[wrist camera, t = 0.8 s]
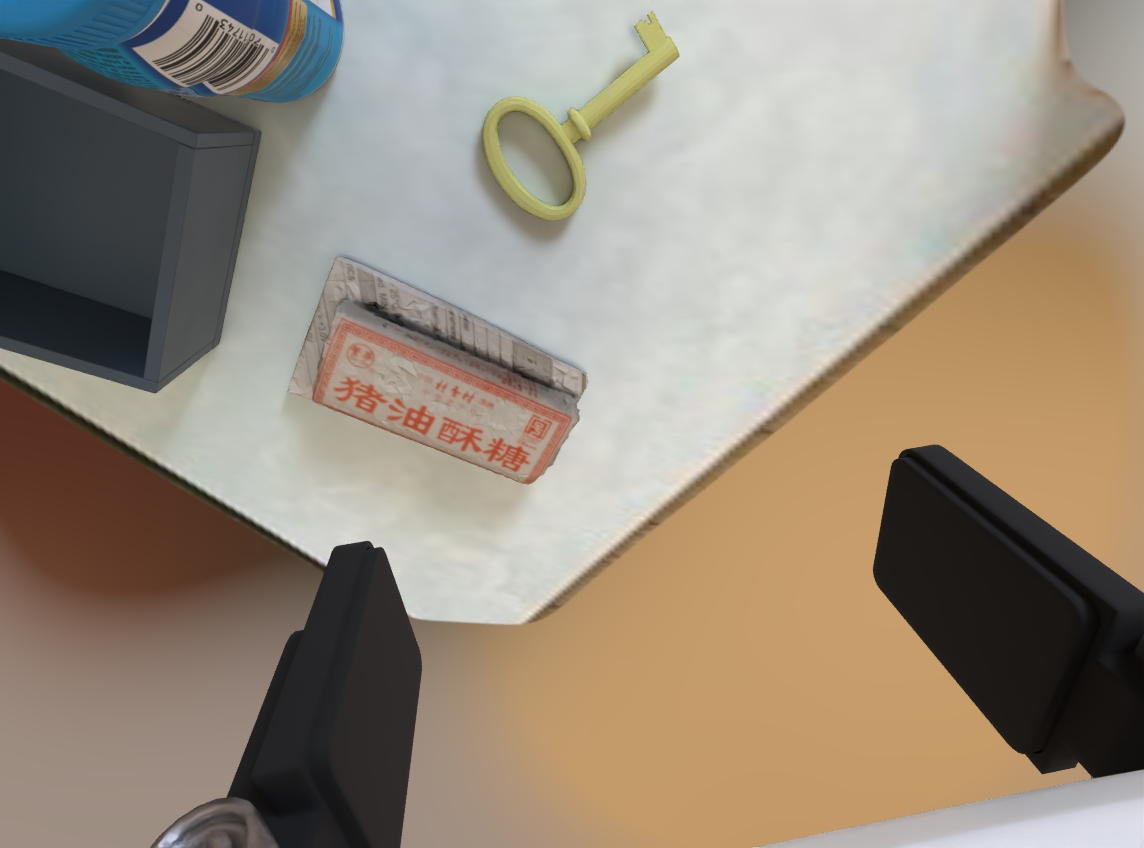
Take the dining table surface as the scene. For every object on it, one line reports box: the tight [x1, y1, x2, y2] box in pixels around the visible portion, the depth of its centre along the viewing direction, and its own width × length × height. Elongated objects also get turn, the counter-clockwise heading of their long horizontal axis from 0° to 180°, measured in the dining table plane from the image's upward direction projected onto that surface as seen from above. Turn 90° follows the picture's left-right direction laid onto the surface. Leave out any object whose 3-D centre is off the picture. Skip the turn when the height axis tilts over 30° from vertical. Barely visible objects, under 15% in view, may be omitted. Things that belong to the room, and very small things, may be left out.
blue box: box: [0, 38, 261, 393], centre depth 30 cm, size 13×13×8 cm
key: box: [482, 11, 679, 220], centre depth 33 cm, size 7×12×2 cm, turn 145°
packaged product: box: [287, 257, 588, 484], centre depth 38 cm, size 18×5×10 cm
